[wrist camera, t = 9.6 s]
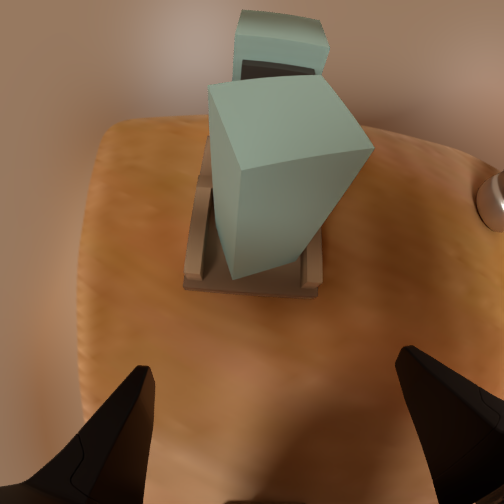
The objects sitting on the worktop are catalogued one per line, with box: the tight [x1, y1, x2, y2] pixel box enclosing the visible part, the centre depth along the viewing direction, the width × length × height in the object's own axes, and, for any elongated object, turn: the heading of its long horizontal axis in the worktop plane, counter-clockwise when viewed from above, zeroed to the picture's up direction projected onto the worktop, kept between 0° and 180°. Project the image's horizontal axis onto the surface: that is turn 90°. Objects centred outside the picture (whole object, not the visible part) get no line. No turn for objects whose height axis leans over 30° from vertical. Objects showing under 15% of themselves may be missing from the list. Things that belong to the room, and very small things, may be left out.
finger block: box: [208, 75, 375, 280], centre depth 14 cm, size 5×4×12 cm
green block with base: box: [183, 10, 330, 299], centre depth 15 cm, size 13×9×13 cm
